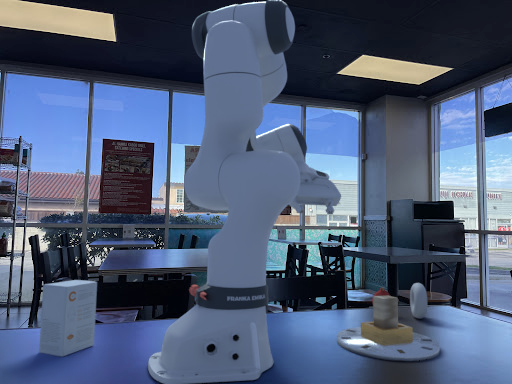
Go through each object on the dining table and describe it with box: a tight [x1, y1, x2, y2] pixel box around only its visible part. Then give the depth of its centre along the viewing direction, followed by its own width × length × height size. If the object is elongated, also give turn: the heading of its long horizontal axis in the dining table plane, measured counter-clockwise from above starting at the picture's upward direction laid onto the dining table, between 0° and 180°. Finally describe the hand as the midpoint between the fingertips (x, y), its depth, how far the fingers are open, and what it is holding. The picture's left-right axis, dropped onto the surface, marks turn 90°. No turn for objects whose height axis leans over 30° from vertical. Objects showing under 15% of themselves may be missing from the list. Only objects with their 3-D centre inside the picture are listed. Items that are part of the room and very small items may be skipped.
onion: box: [371, 287, 391, 305], centre depth 116 cm, size 6×6×8 cm
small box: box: [38, 279, 98, 358], centre depth 78 cm, size 8×6×13 cm
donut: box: [409, 282, 428, 320], centre depth 112 cm, size 10×4×10 cm, turn 168°
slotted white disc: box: [336, 321, 440, 362], centre depth 85 cm, size 21×21×4 cm
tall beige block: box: [372, 295, 399, 329], centre depth 86 cm, size 4×3×9 cm
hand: (316, 212), depth 106 cm, fingers open, 8 cm apart
